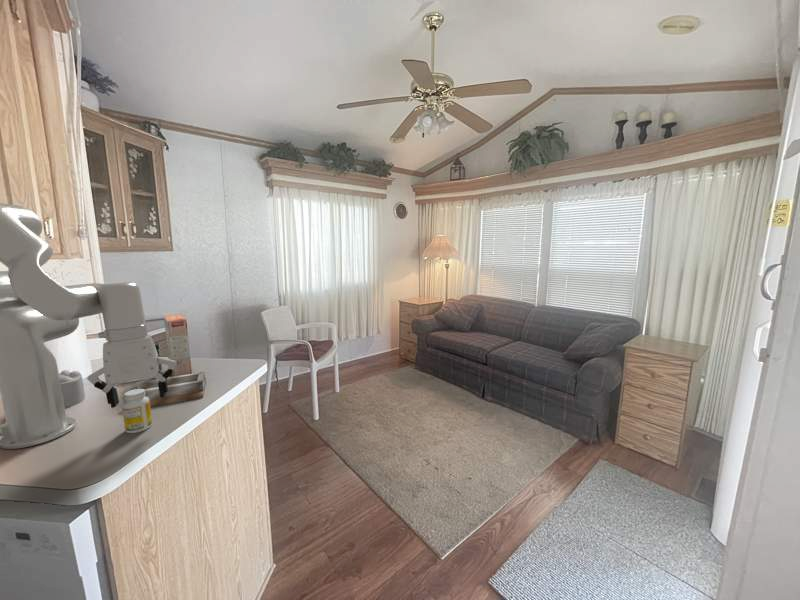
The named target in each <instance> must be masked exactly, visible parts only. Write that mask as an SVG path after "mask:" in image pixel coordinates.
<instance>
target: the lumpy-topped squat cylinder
mask: <svg viewBox="0 0 800 600" xmlns="http://www.w3.org/2000/svg"><path fill="white" fill-rule="evenodd" d="M58 373H59V372H58ZM59 379H60V384H61V390H62V396H63V401H64V407H65V408H68V406H69V407H72V405H73V406H75V405H78V404H80V403H82V402H84V400H85V398H86V393H85V388H84V381H83V375H82V373H81V372H80V371H79V370H73V371H69V370H67V369H65V370H64V369H63V370H62V371H61V372H60V373H59Z"/></svg>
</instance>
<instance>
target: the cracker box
mask: <svg viewBox="0 0 800 600" xmlns="http://www.w3.org/2000/svg"><path fill="white" fill-rule="evenodd" d="M163 323H164V330H165V337H166V339H165V340H166V347H167V348H166V349H167V355H168V356H167V357H168V358H167V359H170V360H175V361H176V362H177V363H176V365H175V367H174V370H173V372H172V373H171V375H172V376H171V377H174V376H180V375H187V374H193V371H192V362H191V353H190V344H189V343H190V342H189V334H188V333H189V331H188V323H187V319H186V317H184V315H182V314H171V315H165V316H163Z"/></svg>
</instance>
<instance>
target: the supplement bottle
mask: <svg viewBox="0 0 800 600" xmlns="http://www.w3.org/2000/svg"><path fill="white" fill-rule="evenodd" d="M124 400H125V401H123V403H122V405H121V408H122V416H123V422H124V430H125V432H126V433H127V434H137V433H140V432H144V431H146V430H147V429H148V430H149V428H151V426H152V425H153V418H152V410H151V409H152V408H151V407H150V400H149V398H148V397H145V390H144V389H137V388H135V389H132V390H128V391H126V392H125V393H124Z"/></svg>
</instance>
